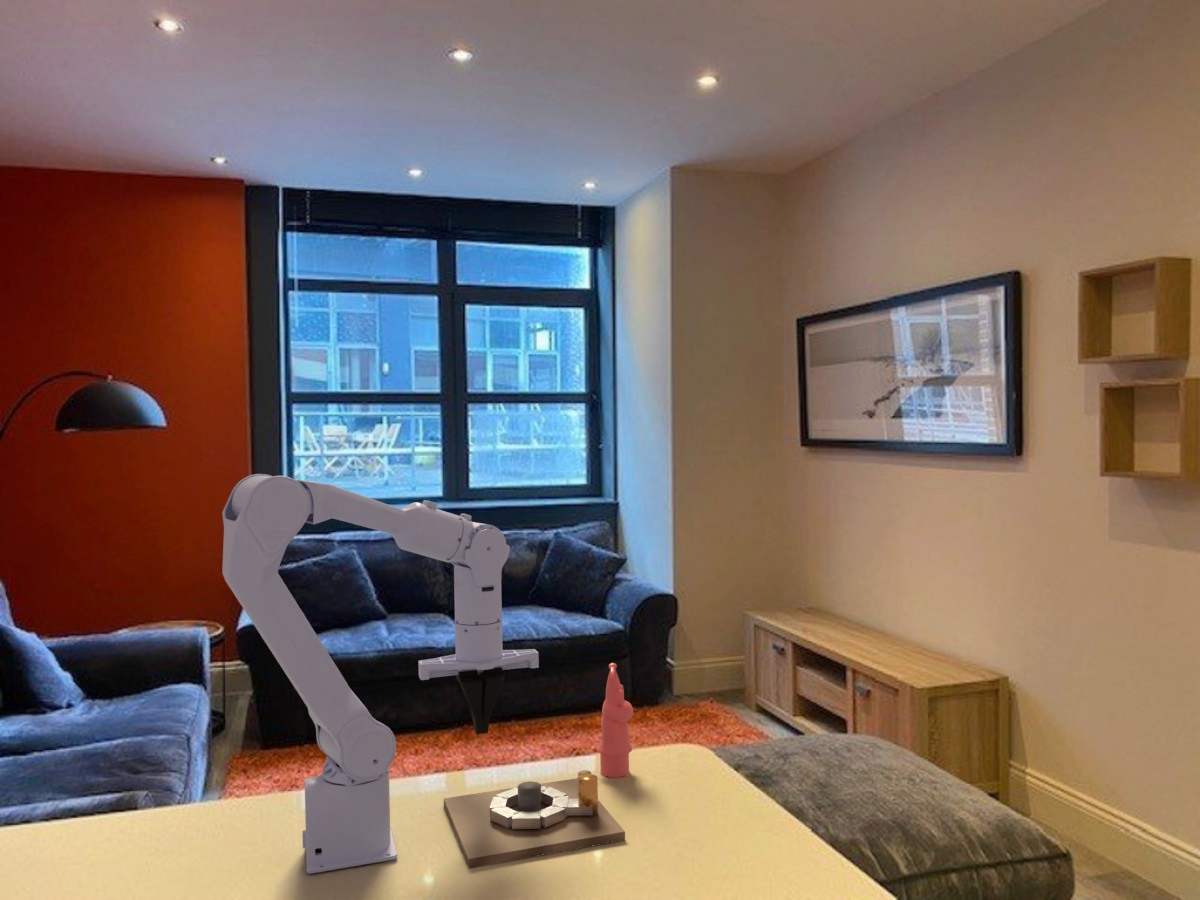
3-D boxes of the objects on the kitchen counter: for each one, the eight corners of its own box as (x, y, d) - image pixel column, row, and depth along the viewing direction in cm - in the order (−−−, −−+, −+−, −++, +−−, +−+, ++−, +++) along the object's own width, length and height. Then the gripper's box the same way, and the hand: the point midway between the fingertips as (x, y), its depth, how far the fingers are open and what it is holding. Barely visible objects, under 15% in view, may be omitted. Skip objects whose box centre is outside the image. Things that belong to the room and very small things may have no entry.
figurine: (634, 779, 118) (632, 668, 117) (596, 779, 118) (594, 669, 117) (633, 765, 123) (632, 658, 122) (597, 765, 123) (595, 659, 123)
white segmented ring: (486, 829, 100) (485, 794, 100) (496, 796, 109) (496, 764, 109) (597, 827, 100) (596, 793, 100) (598, 795, 109) (598, 763, 109)
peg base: (468, 868, 94) (467, 822, 94) (443, 806, 110) (442, 766, 110) (625, 840, 100) (624, 796, 100) (579, 785, 116) (579, 747, 116)
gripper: (423, 632, 101) (425, 749, 101) (544, 621, 105) (546, 733, 105) (415, 620, 107) (417, 730, 107) (529, 611, 112) (531, 716, 112)
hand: (480, 731), depth 107 cm, fingers closed
